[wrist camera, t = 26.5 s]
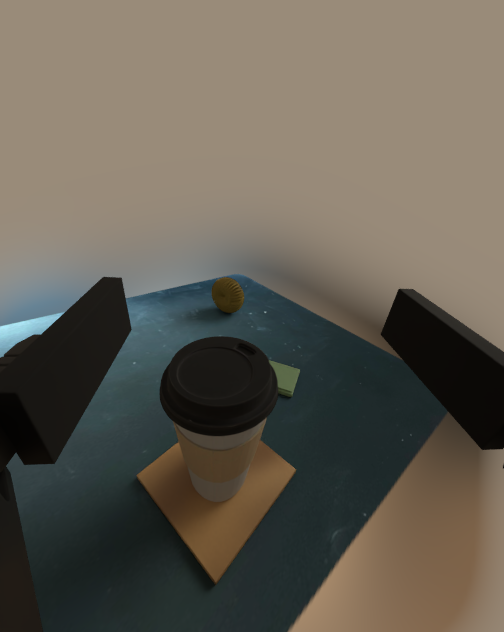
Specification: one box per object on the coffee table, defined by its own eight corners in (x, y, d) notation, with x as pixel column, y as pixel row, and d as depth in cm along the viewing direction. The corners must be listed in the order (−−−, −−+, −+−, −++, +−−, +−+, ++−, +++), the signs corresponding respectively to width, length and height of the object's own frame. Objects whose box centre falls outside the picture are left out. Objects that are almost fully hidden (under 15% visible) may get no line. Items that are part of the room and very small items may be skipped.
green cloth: (299, 372, 43) (300, 368, 43) (291, 397, 38) (292, 393, 38) (244, 355, 46) (244, 351, 45) (230, 377, 41) (230, 372, 40)
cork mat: (295, 472, 29) (296, 469, 29) (215, 585, 21) (215, 582, 20) (220, 410, 35) (221, 407, 35) (137, 478, 27) (136, 475, 27)
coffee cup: (268, 443, 31) (286, 342, 23) (252, 538, 23) (272, 431, 15) (194, 425, 32) (188, 323, 25) (154, 509, 24) (128, 397, 17)
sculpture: (246, 313, 59) (249, 281, 55) (235, 320, 56) (237, 286, 52) (219, 302, 62) (220, 271, 58) (207, 308, 59) (207, 275, 55)
